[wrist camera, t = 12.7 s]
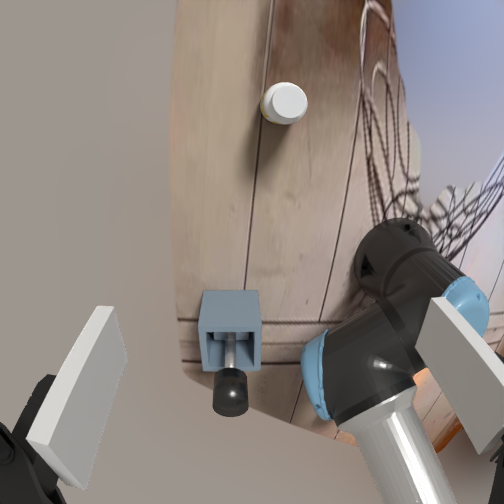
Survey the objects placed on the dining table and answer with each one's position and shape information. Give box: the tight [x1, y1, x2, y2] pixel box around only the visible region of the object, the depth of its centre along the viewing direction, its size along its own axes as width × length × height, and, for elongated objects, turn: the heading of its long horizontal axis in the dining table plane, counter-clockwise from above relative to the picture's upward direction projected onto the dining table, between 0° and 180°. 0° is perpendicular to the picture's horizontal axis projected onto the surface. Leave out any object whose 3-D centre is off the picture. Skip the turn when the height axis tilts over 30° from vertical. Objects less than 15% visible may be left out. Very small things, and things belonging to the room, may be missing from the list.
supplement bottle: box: [260, 82, 307, 124], centre depth 38 cm, size 5×5×10 cm
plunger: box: [213, 332, 249, 417], centre depth 44 cm, size 6×6×18 cm
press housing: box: [198, 290, 262, 371], centre depth 51 cm, size 9×9×10 cm
